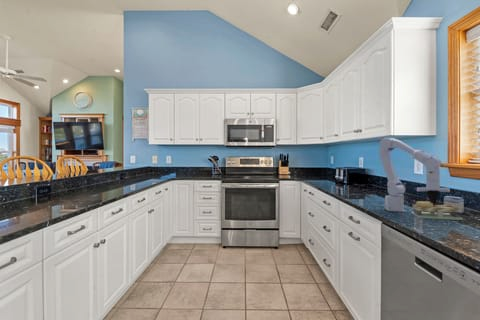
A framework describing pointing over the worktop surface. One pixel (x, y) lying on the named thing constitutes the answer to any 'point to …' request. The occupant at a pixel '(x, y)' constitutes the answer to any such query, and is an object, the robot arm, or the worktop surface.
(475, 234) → the worktop surface
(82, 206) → the worktop surface
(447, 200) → the medicine box
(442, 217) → the stand
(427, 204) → the slider
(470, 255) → the worktop surface
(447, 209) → the flat elongated piece
